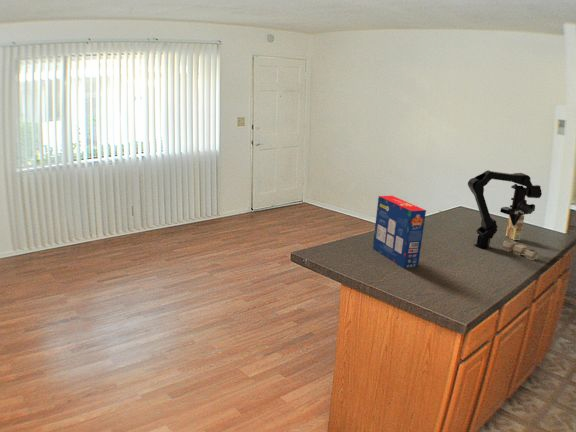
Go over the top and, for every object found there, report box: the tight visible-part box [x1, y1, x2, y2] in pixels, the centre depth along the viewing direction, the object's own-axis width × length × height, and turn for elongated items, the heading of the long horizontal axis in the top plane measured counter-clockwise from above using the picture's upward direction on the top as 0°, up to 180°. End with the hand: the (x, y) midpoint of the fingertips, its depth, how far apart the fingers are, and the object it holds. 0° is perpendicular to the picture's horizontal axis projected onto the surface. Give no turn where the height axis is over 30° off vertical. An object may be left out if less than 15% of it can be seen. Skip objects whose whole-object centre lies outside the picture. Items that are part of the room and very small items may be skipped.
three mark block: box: [523, 248, 540, 259], centre depth 263 cm, size 4×4×5 cm
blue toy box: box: [372, 195, 427, 269], centre depth 249 cm, size 28×8×28 cm, turn 22°
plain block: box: [512, 244, 528, 255], centre depth 269 cm, size 4×4×4 cm
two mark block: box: [502, 239, 517, 252], centre depth 275 cm, size 4×4×5 cm
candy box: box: [505, 215, 525, 241], centre depth 294 cm, size 9×4×15 cm, turn 9°
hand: (513, 225), depth 275 cm, fingers closed
